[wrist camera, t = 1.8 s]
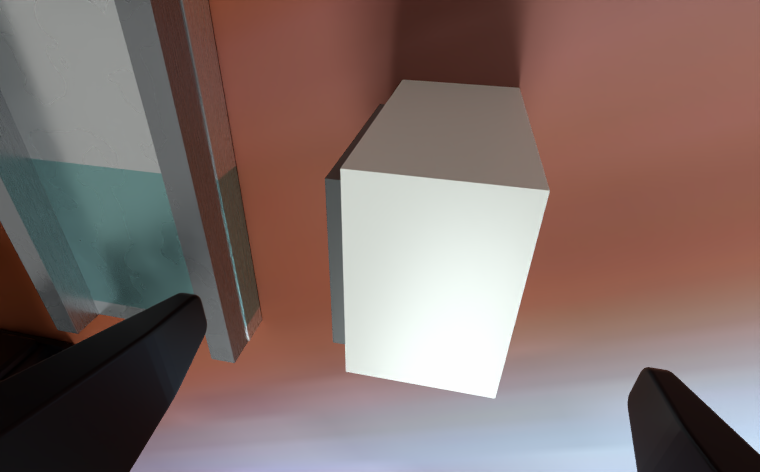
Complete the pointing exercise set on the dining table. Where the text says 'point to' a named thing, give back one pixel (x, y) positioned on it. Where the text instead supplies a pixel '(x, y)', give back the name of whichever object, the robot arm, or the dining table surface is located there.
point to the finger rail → (122, 163)
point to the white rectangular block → (434, 234)
